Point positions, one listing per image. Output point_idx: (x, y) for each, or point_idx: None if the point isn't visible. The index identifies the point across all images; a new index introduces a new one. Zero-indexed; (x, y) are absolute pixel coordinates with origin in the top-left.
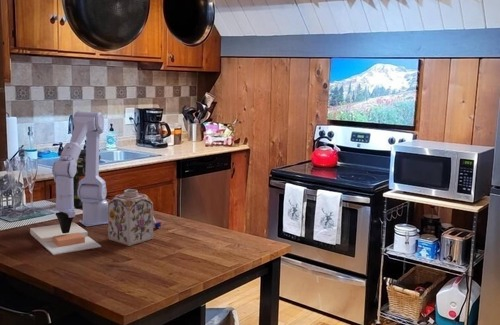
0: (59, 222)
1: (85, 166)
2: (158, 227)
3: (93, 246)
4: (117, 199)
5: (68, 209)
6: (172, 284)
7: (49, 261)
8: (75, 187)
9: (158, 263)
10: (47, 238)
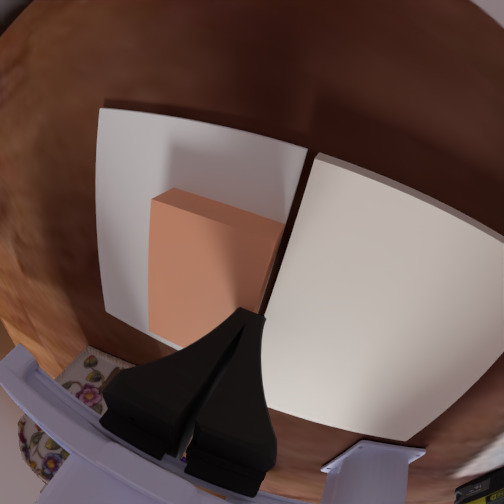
0: (251, 371)
1: None
2: None
3: (106, 291)
4: (36, 472)
5: (59, 442)
6: None
7: (64, 67)
8: None
9: (6, 280)
10: (301, 203)
